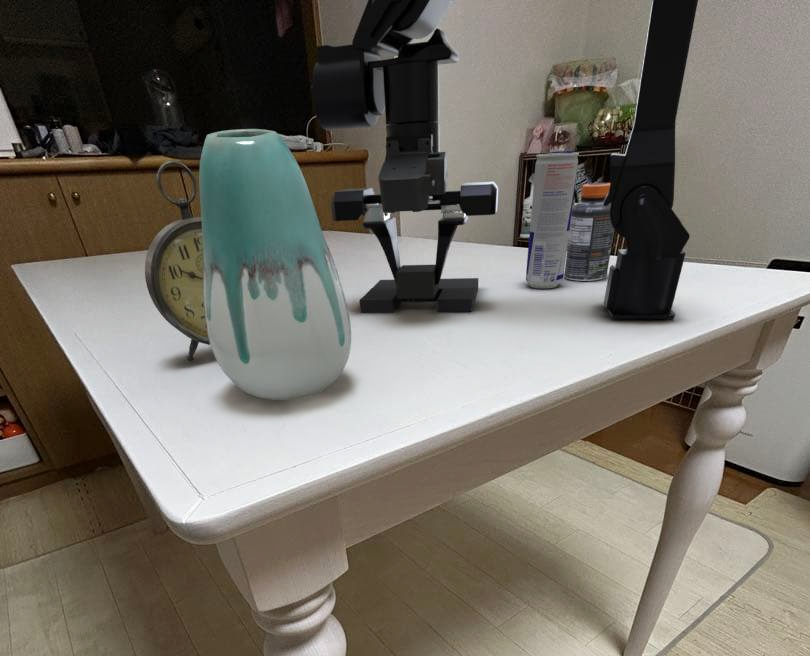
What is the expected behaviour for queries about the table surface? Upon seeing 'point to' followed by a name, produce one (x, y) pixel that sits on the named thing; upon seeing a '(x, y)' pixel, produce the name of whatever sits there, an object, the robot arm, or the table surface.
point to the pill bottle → (590, 235)
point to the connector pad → (416, 282)
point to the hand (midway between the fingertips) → (417, 283)
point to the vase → (268, 270)
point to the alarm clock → (179, 270)
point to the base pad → (449, 299)
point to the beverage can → (551, 218)
